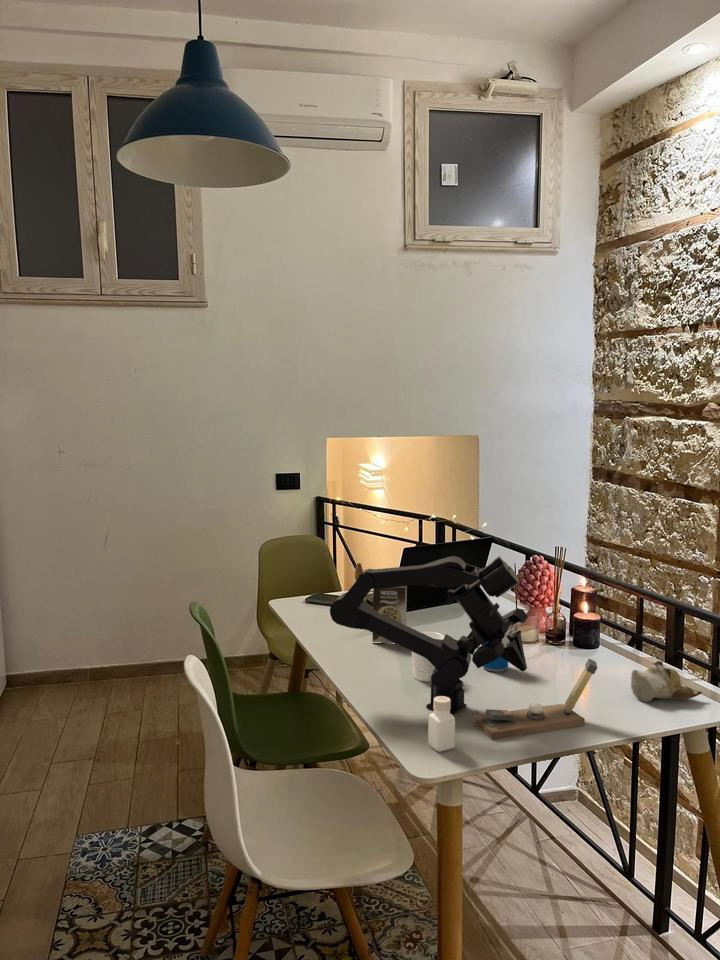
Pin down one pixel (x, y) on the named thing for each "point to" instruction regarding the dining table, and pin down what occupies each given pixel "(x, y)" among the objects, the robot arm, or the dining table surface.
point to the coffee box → (390, 606)
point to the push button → (535, 708)
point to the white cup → (424, 662)
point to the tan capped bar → (580, 685)
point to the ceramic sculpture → (659, 684)
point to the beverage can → (496, 665)
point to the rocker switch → (499, 714)
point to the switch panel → (529, 722)
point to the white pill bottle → (441, 725)
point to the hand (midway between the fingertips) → (524, 670)
